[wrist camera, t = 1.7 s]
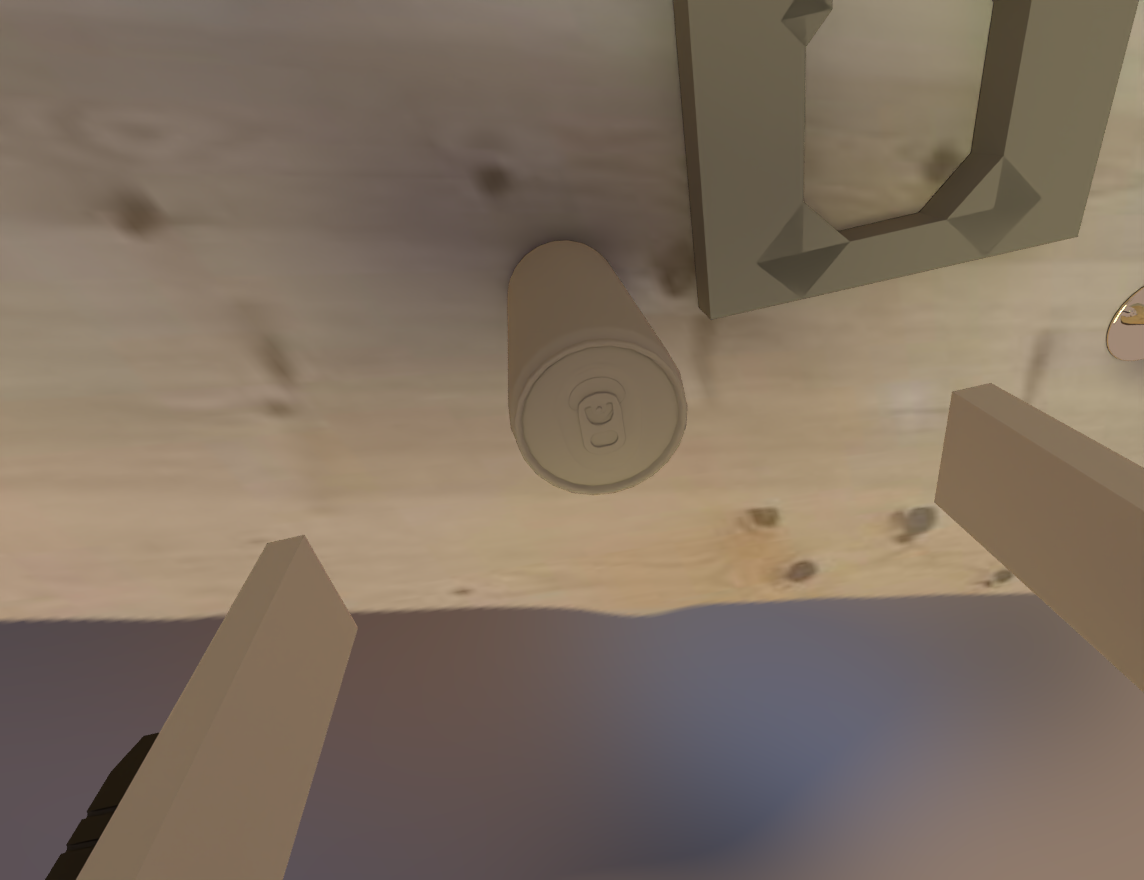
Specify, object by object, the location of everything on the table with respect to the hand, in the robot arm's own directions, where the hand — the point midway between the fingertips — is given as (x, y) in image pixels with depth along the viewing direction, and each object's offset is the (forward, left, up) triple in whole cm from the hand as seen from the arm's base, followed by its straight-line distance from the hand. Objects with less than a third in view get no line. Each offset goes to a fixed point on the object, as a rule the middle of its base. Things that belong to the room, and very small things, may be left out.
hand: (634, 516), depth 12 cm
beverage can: (0, 0, -16) cm, 16 cm away
